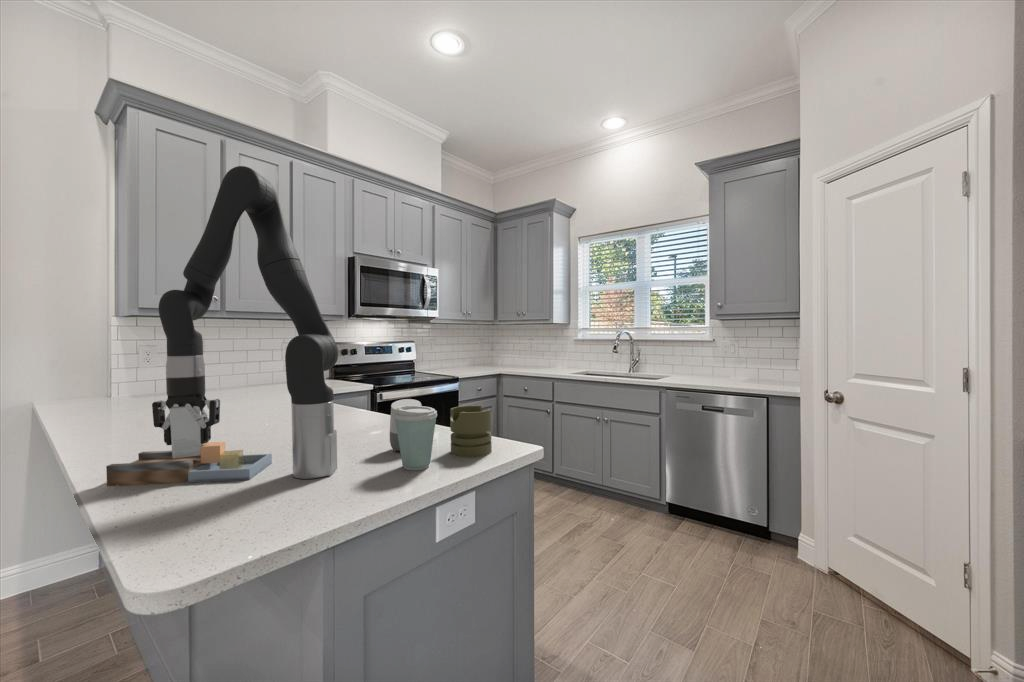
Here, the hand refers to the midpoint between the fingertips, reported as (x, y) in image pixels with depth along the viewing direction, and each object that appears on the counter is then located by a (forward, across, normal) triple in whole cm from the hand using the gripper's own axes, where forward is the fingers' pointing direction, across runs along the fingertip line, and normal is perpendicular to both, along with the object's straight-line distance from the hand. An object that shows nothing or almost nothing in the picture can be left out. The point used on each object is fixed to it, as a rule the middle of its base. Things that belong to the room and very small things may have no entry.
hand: (187, 443), depth 109 cm
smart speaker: (+8, -50, -14) cm, 52 cm away
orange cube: (+4, -5, 0) cm, 7 cm away
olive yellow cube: (+5, -7, -1) cm, 9 cm away
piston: (+8, -68, -9) cm, 69 cm away
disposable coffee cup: (+8, -54, +3) cm, 55 cm away
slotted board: (+7, +5, 0) cm, 9 cm away
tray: (+7, -10, 0) cm, 12 cm away
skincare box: (+3, 0, 0) cm, 3 cm away
